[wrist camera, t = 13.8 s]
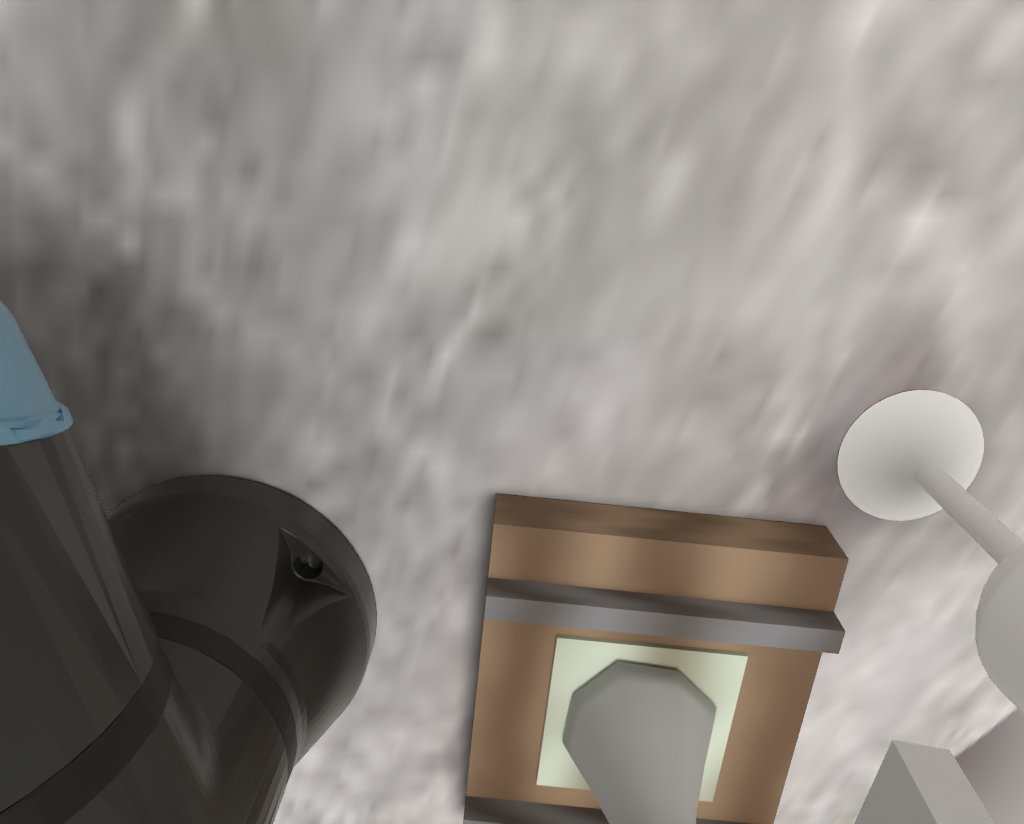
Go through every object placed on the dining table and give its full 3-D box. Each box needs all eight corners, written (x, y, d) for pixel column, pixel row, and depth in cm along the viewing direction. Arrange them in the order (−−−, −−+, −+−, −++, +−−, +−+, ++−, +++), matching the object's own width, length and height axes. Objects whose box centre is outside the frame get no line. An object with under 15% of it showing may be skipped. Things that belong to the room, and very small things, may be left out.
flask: (537, 743, 40) (537, 936, 31) (610, 636, 38) (635, 810, 29) (662, 797, 41) (700, 1001, 32) (741, 696, 39) (807, 884, 30)
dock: (464, 807, 46) (457, 877, 42) (496, 493, 39) (491, 540, 35) (743, 834, 46) (764, 907, 42) (826, 526, 39) (861, 577, 35)
